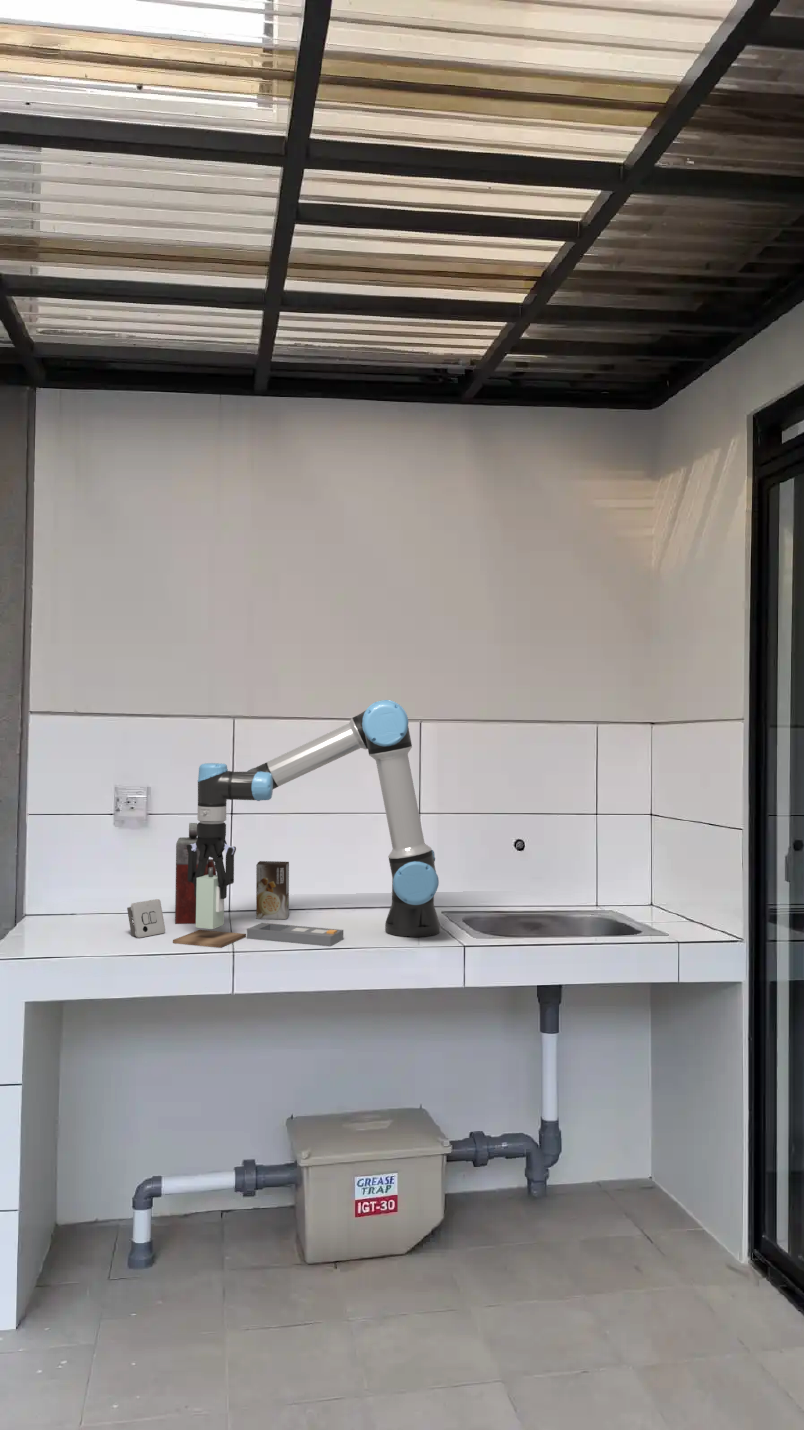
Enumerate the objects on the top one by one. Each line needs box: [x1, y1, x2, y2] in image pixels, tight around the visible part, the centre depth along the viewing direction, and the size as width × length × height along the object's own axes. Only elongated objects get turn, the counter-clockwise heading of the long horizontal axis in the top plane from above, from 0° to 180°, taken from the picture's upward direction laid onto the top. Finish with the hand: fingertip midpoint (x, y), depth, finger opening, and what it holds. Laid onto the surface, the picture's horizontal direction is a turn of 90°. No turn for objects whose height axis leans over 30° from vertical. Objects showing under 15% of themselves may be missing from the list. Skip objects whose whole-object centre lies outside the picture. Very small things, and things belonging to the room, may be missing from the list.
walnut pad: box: [172, 929, 247, 949], centre depth 288 cm, size 14×14×1 cm
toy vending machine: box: [174, 822, 217, 925], centre depth 312 cm, size 9×11×28 cm
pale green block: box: [195, 867, 225, 930], centre depth 287 cm, size 5×6×15 cm
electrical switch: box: [126, 898, 166, 939], centre depth 293 cm, size 9×5×9 cm, turn 141°
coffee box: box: [255, 860, 290, 920], centre depth 319 cm, size 9×6×16 cm
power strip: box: [246, 922, 344, 947], centre depth 291 cm, size 24×9×3 cm, turn 71°
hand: (210, 910), depth 288 cm, fingers closed on pale green block, 5 cm apart
